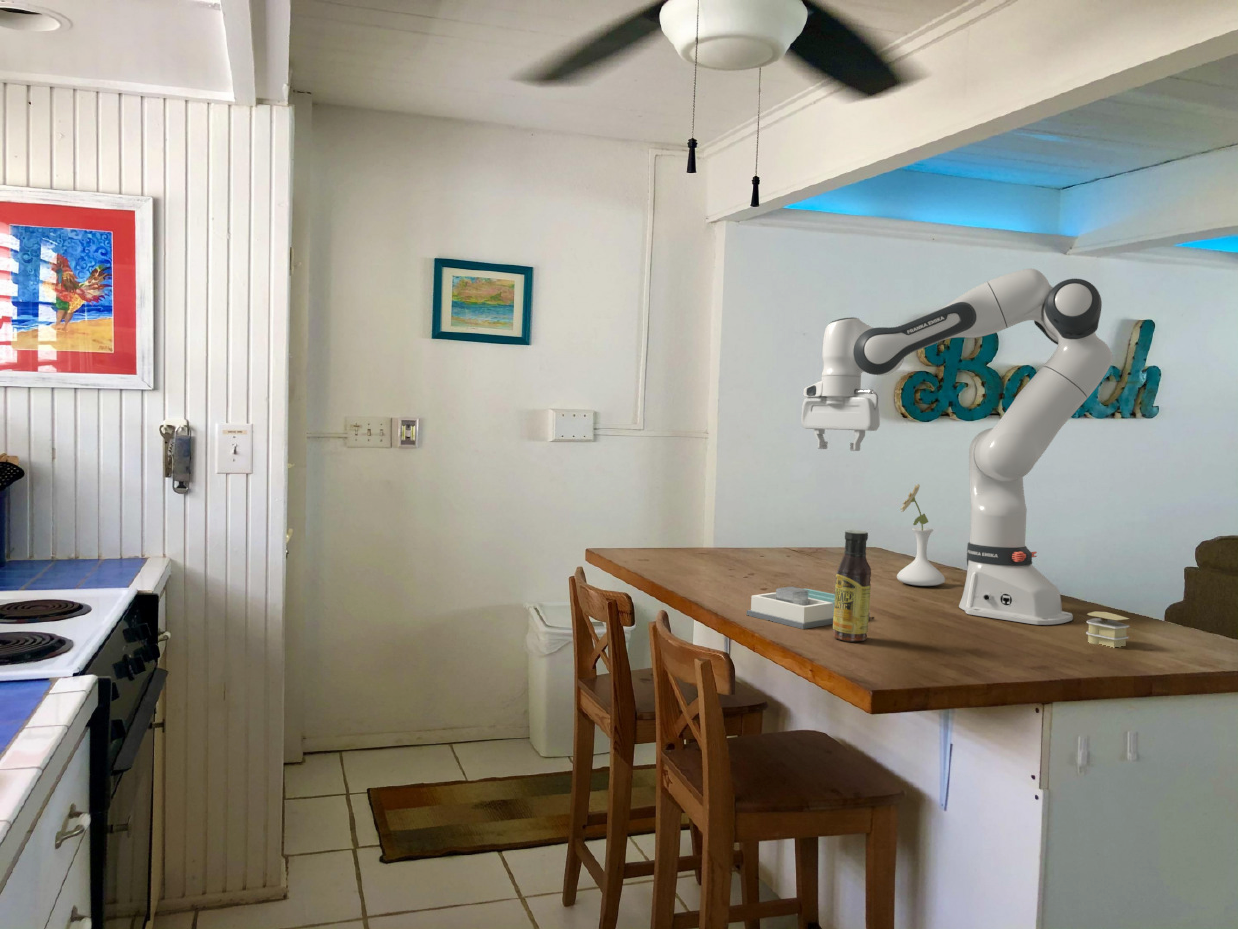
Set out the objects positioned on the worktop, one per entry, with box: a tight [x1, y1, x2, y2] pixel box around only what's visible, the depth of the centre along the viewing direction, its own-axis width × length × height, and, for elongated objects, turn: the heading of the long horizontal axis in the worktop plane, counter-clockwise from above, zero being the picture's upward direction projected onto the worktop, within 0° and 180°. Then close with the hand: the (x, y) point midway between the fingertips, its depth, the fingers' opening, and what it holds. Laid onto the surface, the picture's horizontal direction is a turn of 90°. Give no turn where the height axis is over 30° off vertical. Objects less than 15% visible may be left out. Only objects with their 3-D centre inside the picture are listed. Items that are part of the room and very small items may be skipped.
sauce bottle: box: [832, 529, 872, 643], centre depth 176 cm, size 6×6×20 cm
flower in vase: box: [896, 483, 946, 587], centre depth 237 cm, size 13×11×25 cm
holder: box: [746, 588, 871, 630], centre depth 196 cm, size 15×20×4 cm
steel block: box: [775, 586, 809, 606], centre depth 193 cm, size 4×4×5 cm
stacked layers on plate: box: [1085, 610, 1130, 649], centre depth 178 cm, size 10×9×6 cm
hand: (838, 449), depth 222 cm, fingers open, 8 cm apart
